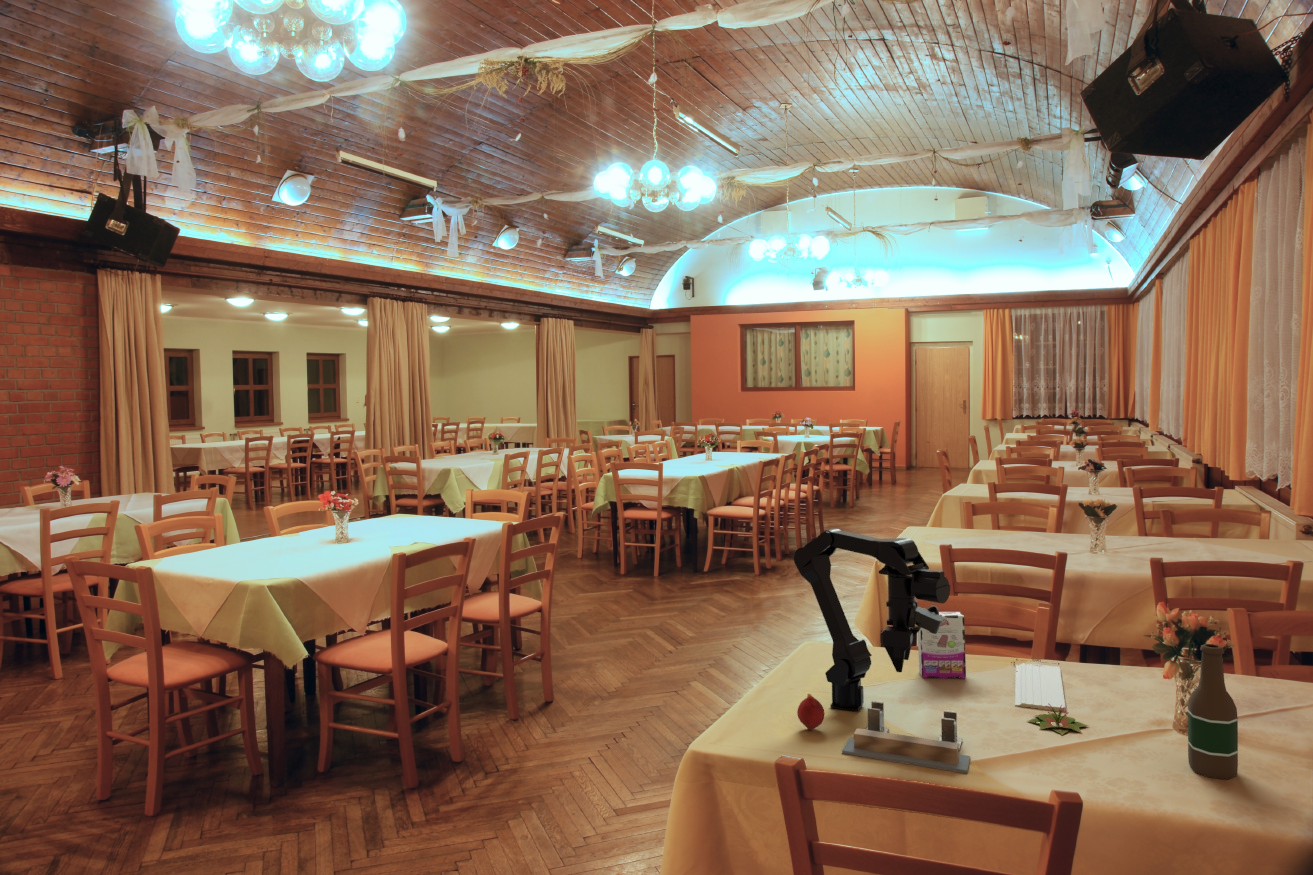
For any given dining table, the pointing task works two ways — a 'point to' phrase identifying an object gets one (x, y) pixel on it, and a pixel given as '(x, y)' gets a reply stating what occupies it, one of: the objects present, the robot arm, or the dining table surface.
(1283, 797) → the dining table surface
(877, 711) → the post left
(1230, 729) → the beer bottle
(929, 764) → the mat
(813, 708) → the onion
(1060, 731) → the lily flower
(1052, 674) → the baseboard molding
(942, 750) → the rail
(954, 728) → the post right
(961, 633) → the candy bar box
